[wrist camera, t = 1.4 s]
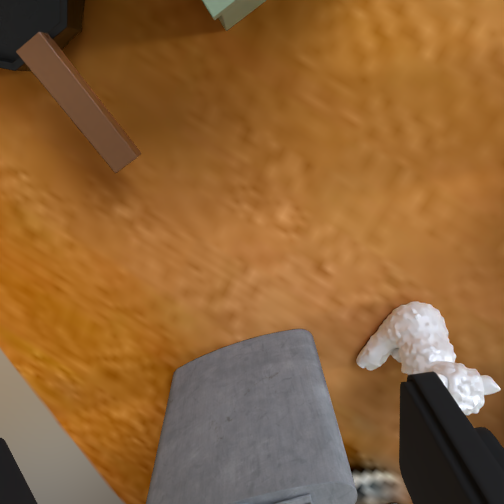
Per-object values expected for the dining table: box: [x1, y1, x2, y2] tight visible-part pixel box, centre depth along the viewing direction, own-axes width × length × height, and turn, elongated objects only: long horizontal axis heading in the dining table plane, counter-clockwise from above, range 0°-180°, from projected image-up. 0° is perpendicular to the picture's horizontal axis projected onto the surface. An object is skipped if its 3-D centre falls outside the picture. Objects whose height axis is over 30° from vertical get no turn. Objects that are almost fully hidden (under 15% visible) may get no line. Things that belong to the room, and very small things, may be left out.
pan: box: [0, 0, 141, 173], centre depth 29 cm, size 12×22×5 cm, turn 34°
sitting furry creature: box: [356, 301, 501, 415], centre depth 38 cm, size 10×9×12 cm
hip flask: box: [146, 329, 357, 504], centre depth 35 cm, size 16×4×20 cm, turn 110°
